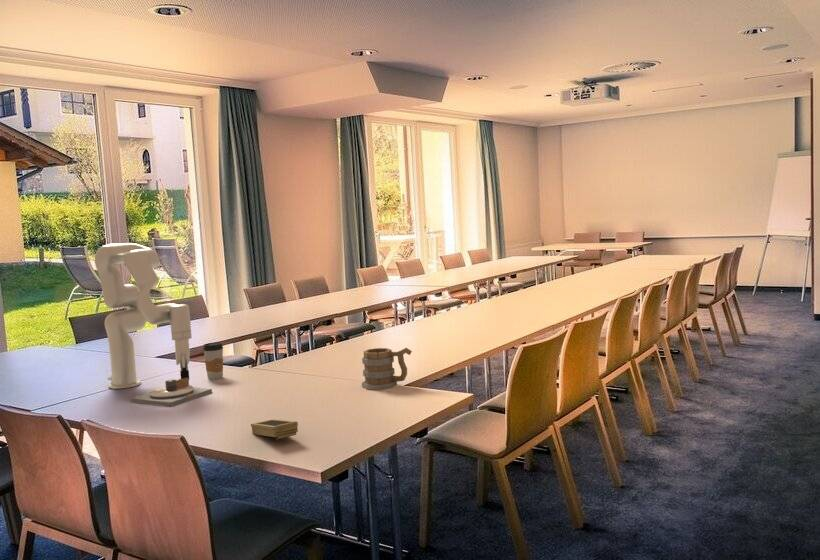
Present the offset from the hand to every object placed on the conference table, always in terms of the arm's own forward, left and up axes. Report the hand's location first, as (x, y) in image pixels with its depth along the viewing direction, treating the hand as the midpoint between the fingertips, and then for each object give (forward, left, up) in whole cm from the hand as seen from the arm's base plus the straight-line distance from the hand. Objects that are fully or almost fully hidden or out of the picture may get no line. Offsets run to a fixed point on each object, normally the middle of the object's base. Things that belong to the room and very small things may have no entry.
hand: (185, 380), depth 278 cm
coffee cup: (-4, +21, -4) cm, 22 cm away
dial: (+3, -10, -2) cm, 11 cm away
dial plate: (+3, -10, -4) cm, 11 cm away
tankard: (+77, +29, -4) cm, 83 cm away
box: (+74, -37, -4) cm, 83 cm away
